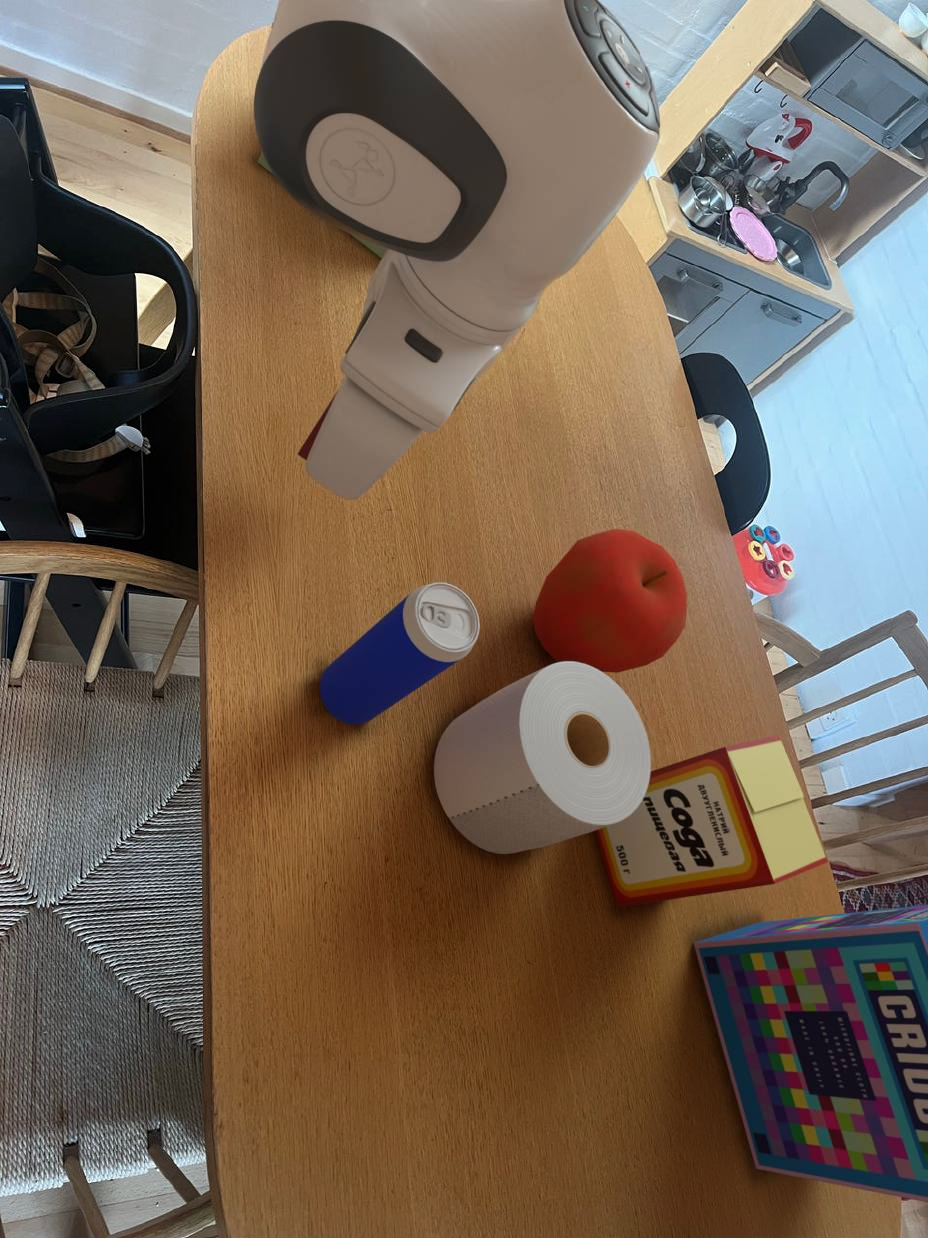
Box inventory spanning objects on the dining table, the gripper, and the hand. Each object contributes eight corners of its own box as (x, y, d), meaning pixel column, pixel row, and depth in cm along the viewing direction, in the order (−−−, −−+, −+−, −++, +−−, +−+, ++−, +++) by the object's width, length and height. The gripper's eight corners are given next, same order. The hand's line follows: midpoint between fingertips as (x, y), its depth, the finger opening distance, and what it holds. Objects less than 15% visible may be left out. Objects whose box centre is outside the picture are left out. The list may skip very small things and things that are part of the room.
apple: (541, 554, 75) (641, 479, 65) (624, 641, 77) (735, 581, 66) (480, 630, 67) (583, 558, 57) (573, 725, 69) (691, 672, 58)
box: (821, 1129, 66) (1088, 1166, 50) (755, 1168, 61) (1030, 1222, 45) (758, 922, 71) (981, 899, 56) (693, 943, 66) (918, 923, 51)
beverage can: (382, 671, 61) (485, 592, 49) (375, 733, 58) (482, 666, 47) (321, 654, 58) (414, 567, 47) (311, 718, 56) (406, 642, 44)
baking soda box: (670, 888, 67) (832, 861, 55) (618, 907, 64) (779, 883, 51) (635, 781, 70) (782, 733, 58) (583, 793, 66) (729, 745, 54)
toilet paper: (522, 886, 60) (624, 865, 51) (404, 793, 57) (489, 753, 49) (574, 765, 67) (670, 728, 58) (471, 678, 65) (555, 626, 56)
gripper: (452, 191, 51) (365, 331, 62) (336, 368, 39) (253, 504, 50) (527, 252, 53) (430, 378, 64) (437, 440, 41) (337, 556, 52)
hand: (351, 435), depth 57 cm, fingers closed on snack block, 4 cm apart
